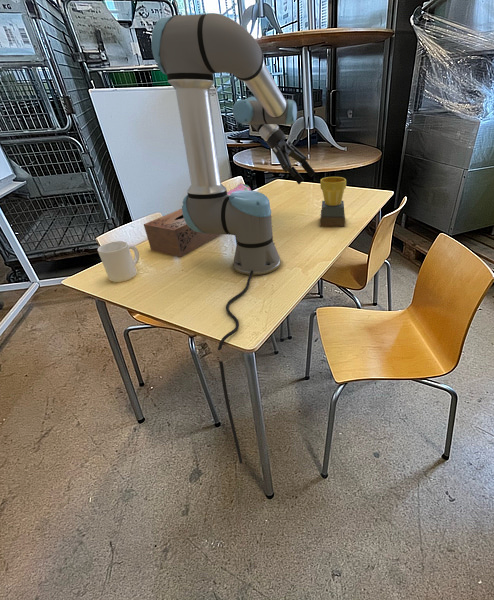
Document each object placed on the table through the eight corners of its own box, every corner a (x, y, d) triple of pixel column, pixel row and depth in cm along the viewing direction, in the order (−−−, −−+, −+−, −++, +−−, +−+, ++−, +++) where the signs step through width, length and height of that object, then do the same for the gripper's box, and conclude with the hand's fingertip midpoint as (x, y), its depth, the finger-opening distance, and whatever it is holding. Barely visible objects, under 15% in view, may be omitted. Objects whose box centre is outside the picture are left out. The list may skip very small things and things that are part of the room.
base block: (344, 226, 138) (345, 217, 136) (320, 226, 139) (320, 217, 137) (343, 218, 146) (344, 209, 144) (321, 218, 147) (321, 209, 145)
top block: (343, 216, 136) (344, 207, 134) (321, 216, 137) (321, 207, 135) (343, 209, 144) (343, 200, 142) (322, 209, 144) (322, 200, 142)
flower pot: (316, 202, 140) (315, 178, 135) (337, 198, 144) (338, 175, 139) (327, 209, 132) (328, 183, 127) (350, 205, 136) (351, 180, 131)
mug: (134, 263, 114) (124, 235, 108) (151, 268, 111) (143, 238, 105) (103, 279, 105) (91, 249, 99) (121, 284, 102) (110, 254, 96)
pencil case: (234, 214, 154) (231, 194, 150) (216, 212, 157) (213, 193, 152) (254, 200, 171) (252, 182, 166) (238, 199, 174) (235, 181, 169)
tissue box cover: (180, 257, 117) (174, 230, 112) (151, 250, 123) (143, 224, 117) (226, 231, 137) (222, 207, 131) (198, 226, 142) (193, 203, 137)
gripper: (280, 138, 144) (311, 178, 148) (252, 146, 125) (289, 191, 129) (291, 125, 140) (323, 166, 144) (264, 131, 120) (302, 178, 124)
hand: (307, 178), depth 136 cm, fingers open, 13 cm apart
